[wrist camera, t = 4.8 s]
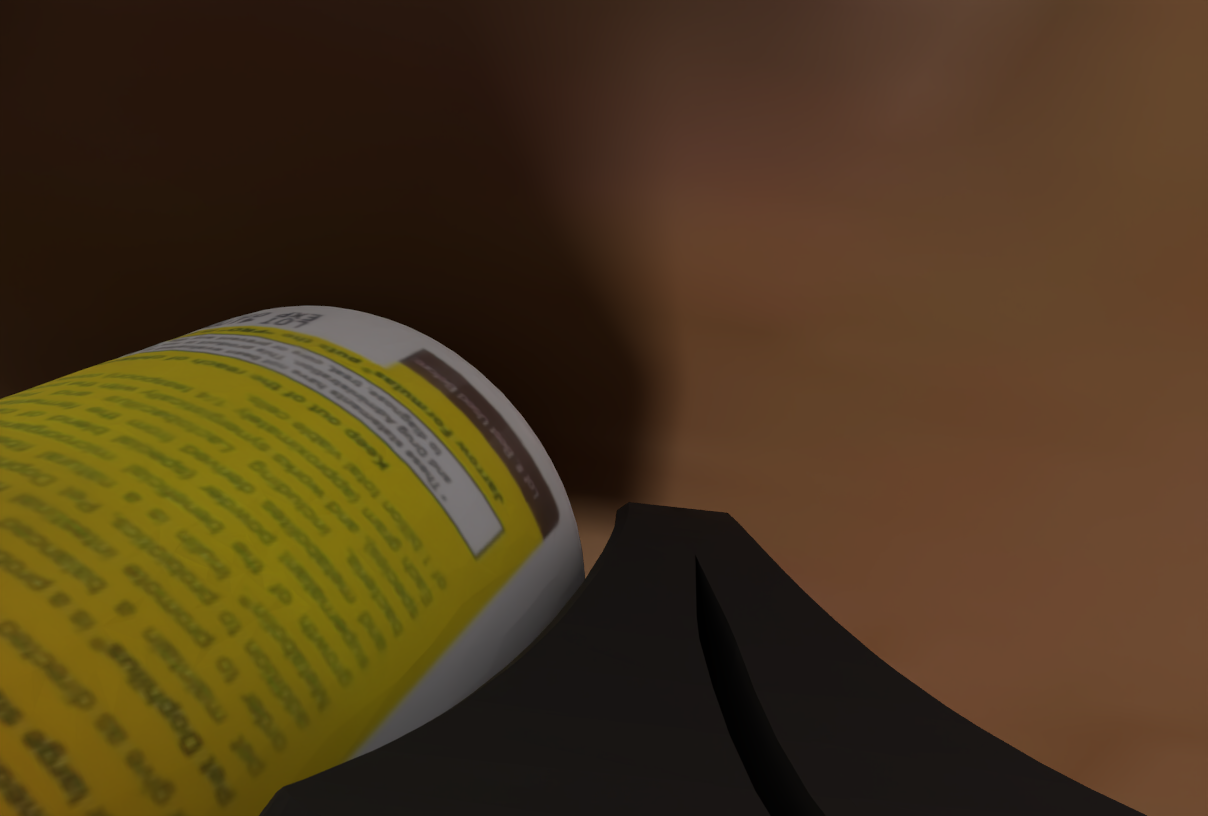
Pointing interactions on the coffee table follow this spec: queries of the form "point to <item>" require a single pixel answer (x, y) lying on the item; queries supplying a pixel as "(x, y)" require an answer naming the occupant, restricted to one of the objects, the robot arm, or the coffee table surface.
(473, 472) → the supplement bottle
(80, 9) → the coffee table surface
